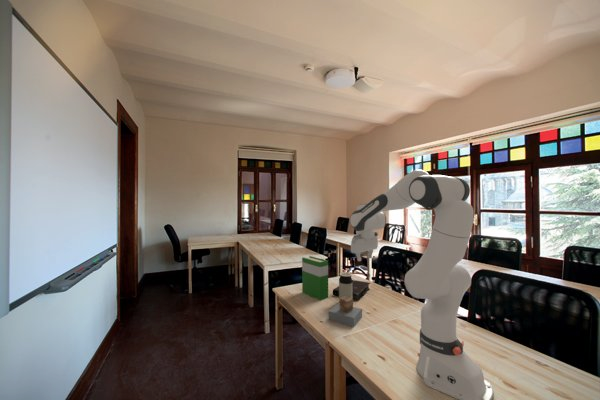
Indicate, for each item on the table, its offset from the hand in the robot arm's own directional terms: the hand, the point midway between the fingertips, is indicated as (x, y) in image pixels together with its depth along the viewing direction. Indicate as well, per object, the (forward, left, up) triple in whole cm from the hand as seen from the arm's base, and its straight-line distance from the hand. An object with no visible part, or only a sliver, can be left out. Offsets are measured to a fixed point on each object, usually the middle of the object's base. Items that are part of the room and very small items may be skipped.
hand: (364, 259), depth 129 cm
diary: (+26, -24, -32) cm, 48 cm away
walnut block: (+6, +9, -27) cm, 29 cm away
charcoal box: (+6, +9, -32) cm, 33 cm away
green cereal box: (+40, -1, -31) cm, 51 cm away
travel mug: (+18, -6, -31) cm, 37 cm away
